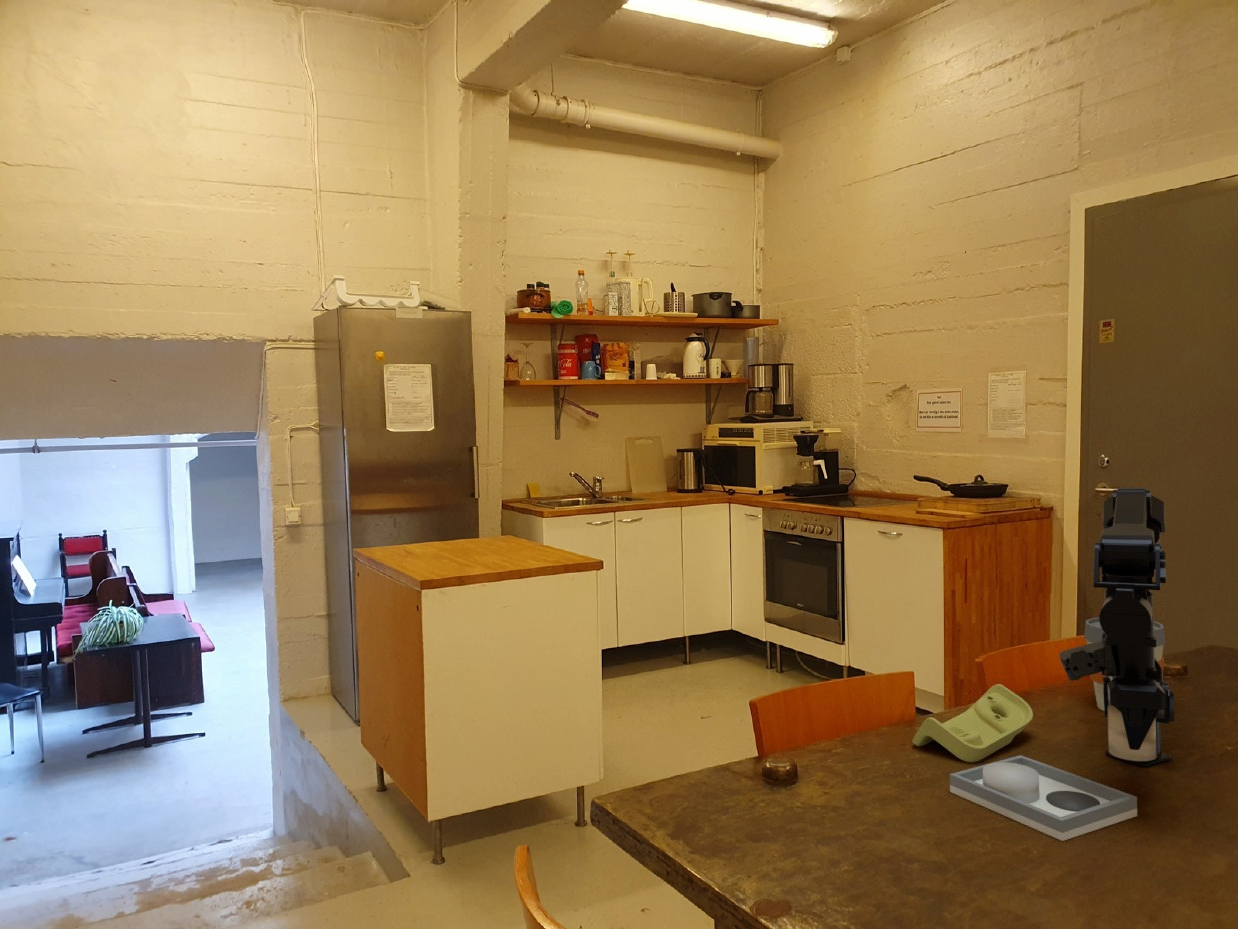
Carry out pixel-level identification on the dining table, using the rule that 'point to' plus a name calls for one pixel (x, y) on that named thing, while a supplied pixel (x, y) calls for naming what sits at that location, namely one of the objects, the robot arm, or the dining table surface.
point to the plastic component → (979, 725)
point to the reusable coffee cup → (1095, 635)
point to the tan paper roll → (1120, 741)
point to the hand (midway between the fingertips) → (1132, 742)
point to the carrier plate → (1044, 796)
